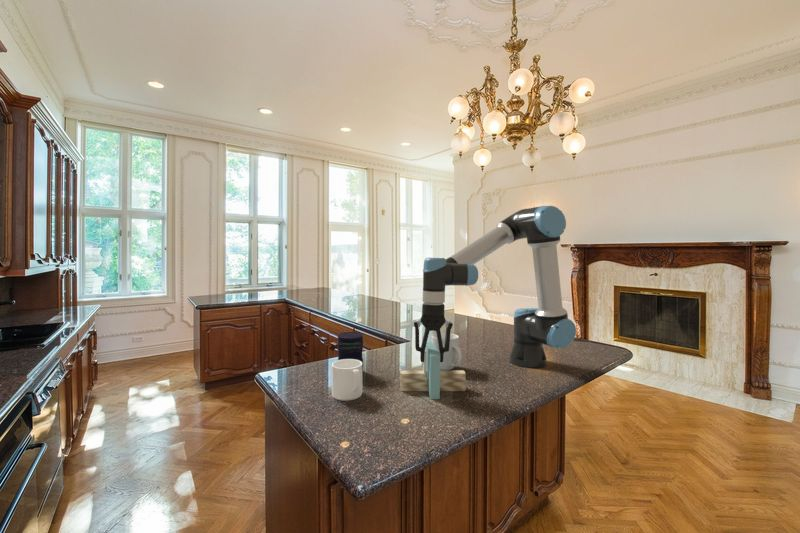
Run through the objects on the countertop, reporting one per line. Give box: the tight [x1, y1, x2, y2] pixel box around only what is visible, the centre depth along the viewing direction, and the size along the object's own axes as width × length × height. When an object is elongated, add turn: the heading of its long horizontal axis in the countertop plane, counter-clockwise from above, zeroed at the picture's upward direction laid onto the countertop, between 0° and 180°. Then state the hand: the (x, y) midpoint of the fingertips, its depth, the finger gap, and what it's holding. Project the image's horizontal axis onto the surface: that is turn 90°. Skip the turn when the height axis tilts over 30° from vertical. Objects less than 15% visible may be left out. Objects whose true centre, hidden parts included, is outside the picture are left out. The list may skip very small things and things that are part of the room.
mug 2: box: [430, 332, 463, 371], centre depth 141 cm, size 15×11×13 cm
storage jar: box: [336, 331, 364, 375], centre depth 136 cm, size 10×10×15 cm
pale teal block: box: [425, 342, 441, 400], centre depth 120 cm, size 16×3×14 cm, turn 1°
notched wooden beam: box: [399, 369, 467, 392], centre depth 121 cm, size 22×3×6 cm, turn 91°
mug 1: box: [331, 359, 363, 402], centre depth 115 cm, size 13×10×10 cm
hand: (431, 371), depth 120 cm, fingers open, 4 cm apart
